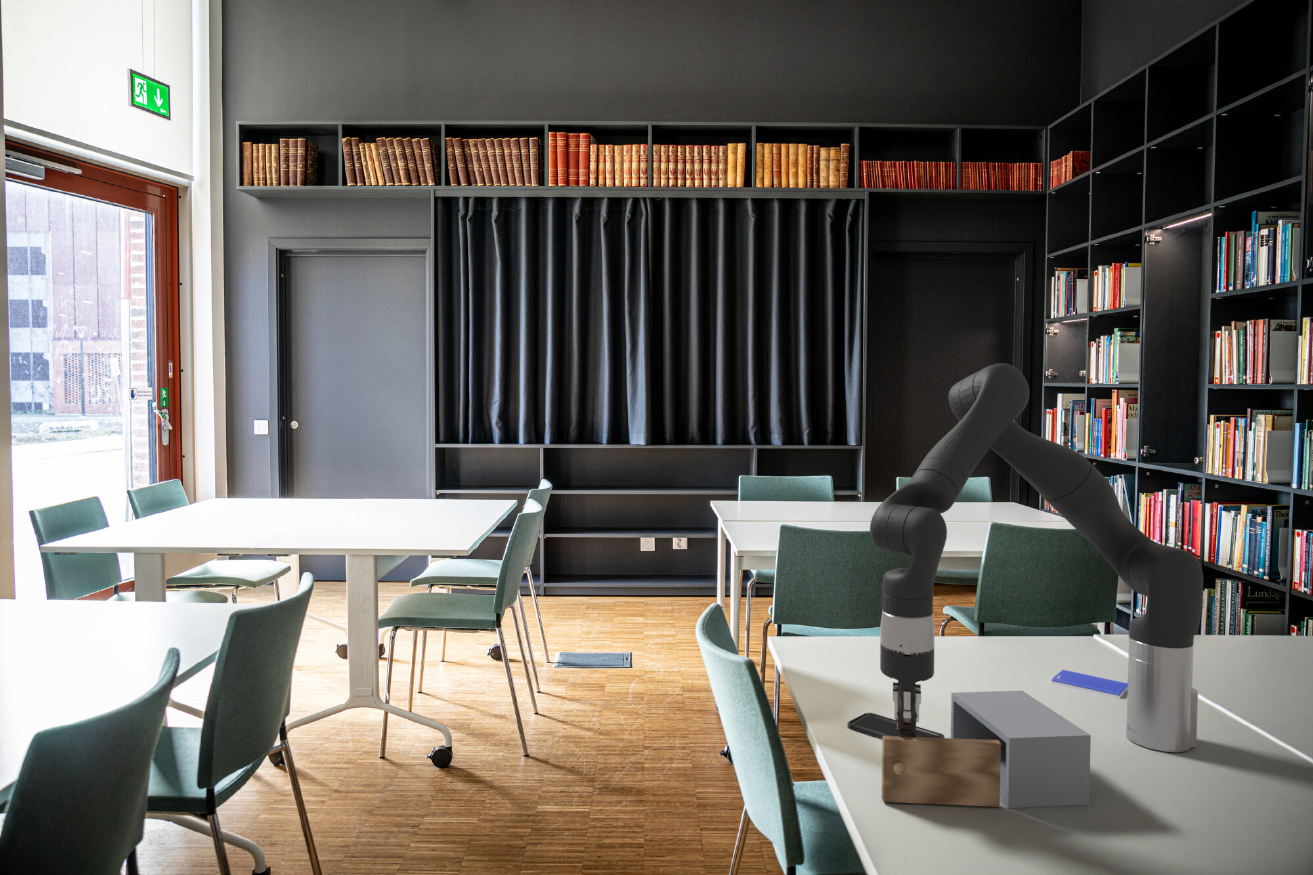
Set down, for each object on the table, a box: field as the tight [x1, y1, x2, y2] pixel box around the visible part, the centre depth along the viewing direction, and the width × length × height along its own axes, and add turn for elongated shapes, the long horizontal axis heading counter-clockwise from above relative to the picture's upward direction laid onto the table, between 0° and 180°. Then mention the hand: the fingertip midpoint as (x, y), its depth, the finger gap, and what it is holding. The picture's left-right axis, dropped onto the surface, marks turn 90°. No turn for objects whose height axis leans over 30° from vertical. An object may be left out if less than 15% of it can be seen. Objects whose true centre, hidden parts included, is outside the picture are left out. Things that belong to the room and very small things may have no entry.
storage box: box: [950, 690, 1092, 809], centre depth 123 cm, size 12×18×10 cm, turn 5°
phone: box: [847, 712, 945, 741], centre depth 139 cm, size 8×1×15 cm
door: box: [881, 736, 1001, 808], centre depth 114 cm, size 16×2×9 cm, turn 85°
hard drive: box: [1050, 669, 1128, 699], centre depth 164 cm, size 2×8×12 cm
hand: (906, 757), depth 119 cm, fingers closed
